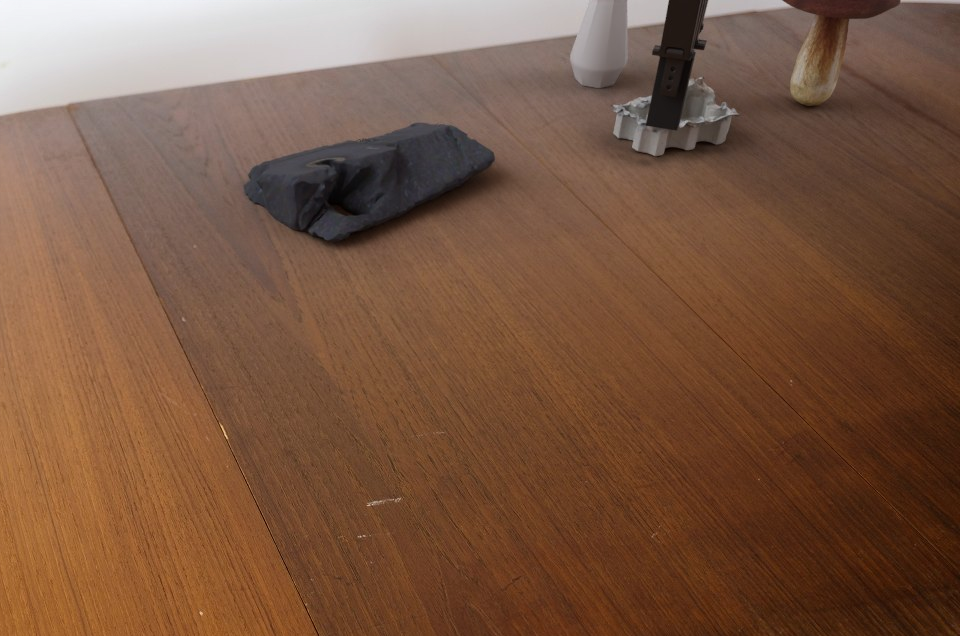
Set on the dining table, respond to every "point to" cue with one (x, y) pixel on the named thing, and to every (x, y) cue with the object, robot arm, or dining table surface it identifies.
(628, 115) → the egg carton
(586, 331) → the dining table surface
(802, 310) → the dining table surface
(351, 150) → the dark slate chunk
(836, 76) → the decorative mushroom
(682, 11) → the robot arm
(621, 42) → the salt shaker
